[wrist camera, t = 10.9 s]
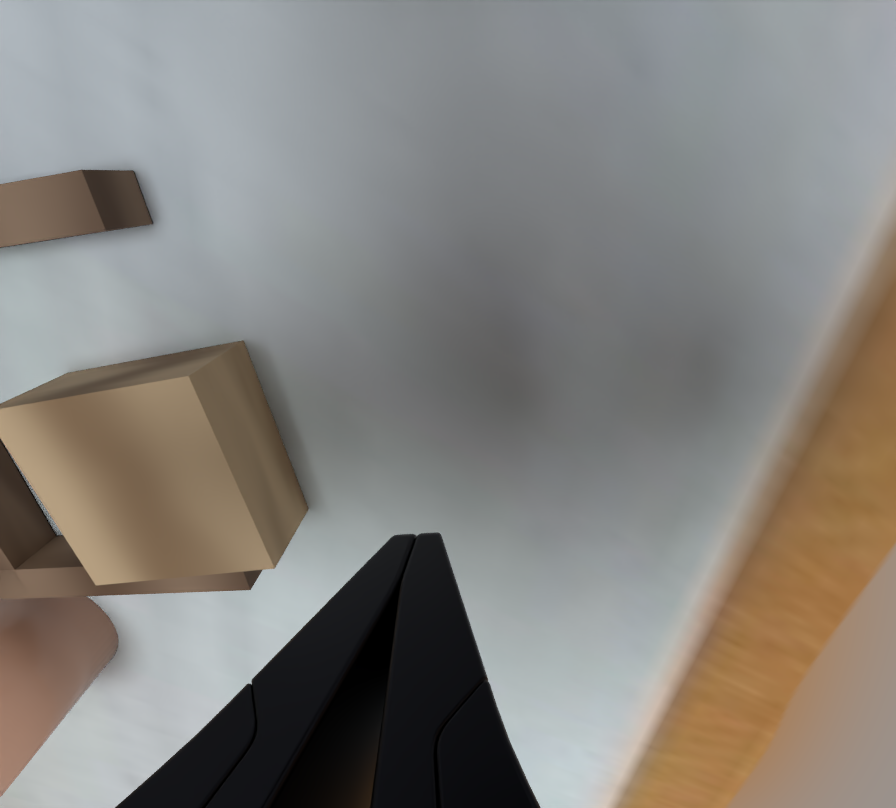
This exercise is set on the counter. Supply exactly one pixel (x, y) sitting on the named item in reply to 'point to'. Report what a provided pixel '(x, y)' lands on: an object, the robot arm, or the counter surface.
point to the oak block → (159, 465)
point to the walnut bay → (3, 490)
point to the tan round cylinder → (45, 670)
